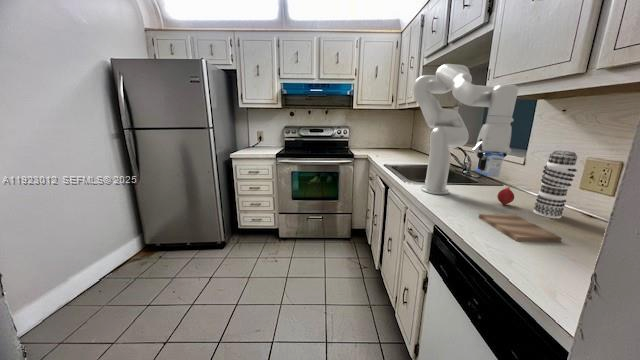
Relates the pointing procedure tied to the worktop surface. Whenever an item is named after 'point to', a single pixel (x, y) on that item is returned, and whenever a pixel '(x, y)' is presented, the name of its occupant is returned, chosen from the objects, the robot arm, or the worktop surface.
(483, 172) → the medicine box
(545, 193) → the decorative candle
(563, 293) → the worktop surface
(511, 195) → the red oval piece
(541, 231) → the cutting board
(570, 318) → the worktop surface
